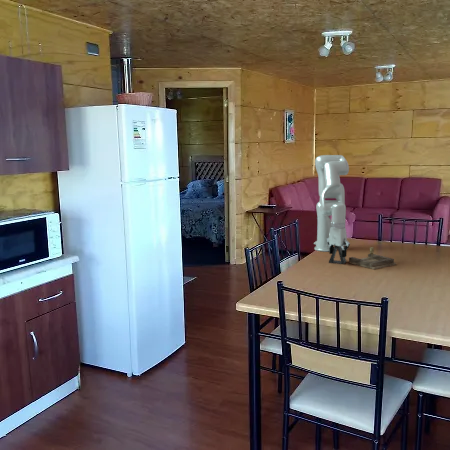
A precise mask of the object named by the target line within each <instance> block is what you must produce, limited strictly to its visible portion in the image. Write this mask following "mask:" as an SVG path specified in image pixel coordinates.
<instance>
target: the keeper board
mask: <svg viewBox="0 0 450 450" xmlns="http://www.w3.org/2000/svg"><path fill="white" fill-rule="evenodd" d="M374 248H375V247H373V246H370V247H369V253H368V254H367V257H362V258H357V257H354V256H351V257H348V263H349V264H352V265H356V266H360V267H363V268H367V269H369V270H378V269H383V268H387V267H392V266H396V265H397V263H396V262H395V259H394V258H392V257H388V256H384V255H379V254H377V253H374Z"/></svg>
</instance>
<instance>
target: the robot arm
mask: <svg viewBox="0 0 450 450" xmlns="http://www.w3.org/2000/svg"><path fill="white" fill-rule="evenodd" d="M314 160H315V162H314V164H315V169H316V173H317V176H318V196H319V201H318V202H317V203H316V205H315V206H316V208H315V209H316V215H317V217H316V219H317V228H316V229H317V232H316V234H317V235H316V240H315V242H313V245H315V246H314V250H315V251H317V252H328V253H329V255H332V253H333V250H334V244H335V246H341V247H342V257H345V258H346V257H347V255H348V254H347V252H348V249H349V247H350V245H351V243H350V242H349V240H348V238H347V236H348V235H347V228H346V215H347V214H346V213H347V212H346V211H347V210H346V209H347V207H346V204H345V203H346V201H345V197H346V196H345V195H346V194H345V187H344V185H343V183H341V178H340V177H341V176H346V175H348V174H349V171H350V165H349V163H348V162H349V161H347V159H346V157H344V155H342V154H333V155H332V154H323V155H318V156H317V157H316V158H315V159H314ZM326 199H328V200H326ZM331 199H332V200H331ZM334 199H335V200H334ZM330 216H331V218H330Z"/></svg>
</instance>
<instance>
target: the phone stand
mask: <svg viewBox="0 0 450 450" xmlns="http://www.w3.org/2000/svg"><path fill="white" fill-rule="evenodd" d="M333 247H334V250H333V253H332V254H330V258H329V260H328V264H335V265H345V264H346V262H347V260H346V257H342V250H343V249H342V247H341V246H335V244H334V246H333ZM337 250H338V255H339V258H340V259H339V260H335V257H336V254H337Z"/></svg>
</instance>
